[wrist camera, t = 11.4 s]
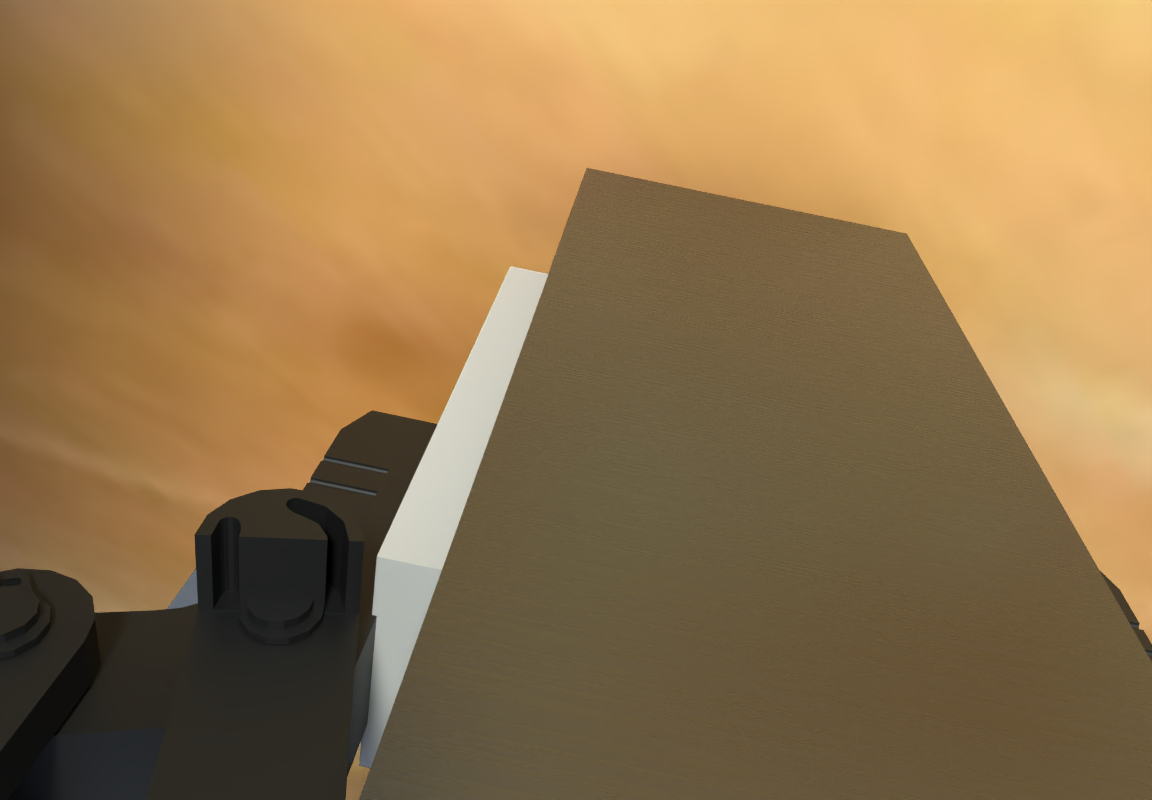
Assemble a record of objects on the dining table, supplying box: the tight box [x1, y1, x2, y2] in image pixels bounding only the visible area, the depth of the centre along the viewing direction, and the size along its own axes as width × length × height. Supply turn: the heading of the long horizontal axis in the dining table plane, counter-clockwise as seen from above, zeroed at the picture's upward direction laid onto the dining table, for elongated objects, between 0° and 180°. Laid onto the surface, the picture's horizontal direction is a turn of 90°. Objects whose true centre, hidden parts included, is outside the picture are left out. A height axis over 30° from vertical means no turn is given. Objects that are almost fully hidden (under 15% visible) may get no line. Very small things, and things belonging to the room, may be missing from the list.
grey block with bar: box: [359, 168, 1152, 800], centre depth 11 cm, size 8×12×12 cm
